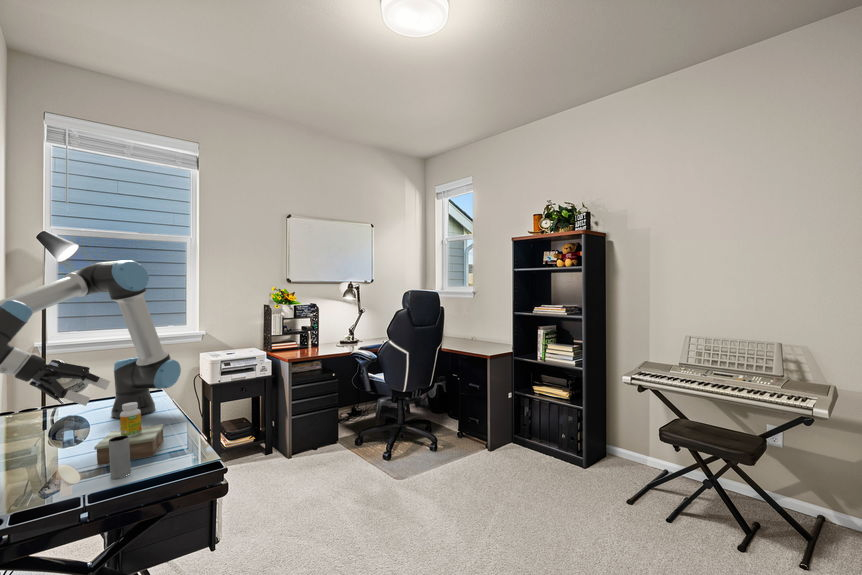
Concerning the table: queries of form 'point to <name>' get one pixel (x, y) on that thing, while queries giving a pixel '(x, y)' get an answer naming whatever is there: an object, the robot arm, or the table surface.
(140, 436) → the podium
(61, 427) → the table surface
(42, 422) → the table surface
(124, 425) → the supplement bottle
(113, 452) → the grey hollow cylinder
